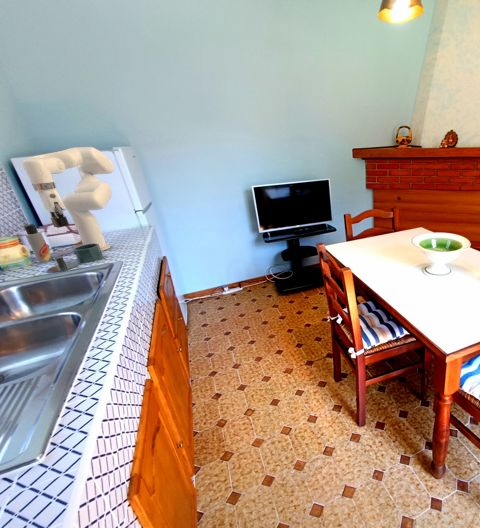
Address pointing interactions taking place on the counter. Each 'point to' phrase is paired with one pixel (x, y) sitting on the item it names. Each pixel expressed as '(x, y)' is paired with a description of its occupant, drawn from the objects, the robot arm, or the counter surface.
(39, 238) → the lotion bottle
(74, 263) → the lid
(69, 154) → the robot arm
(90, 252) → the pot
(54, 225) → the block
